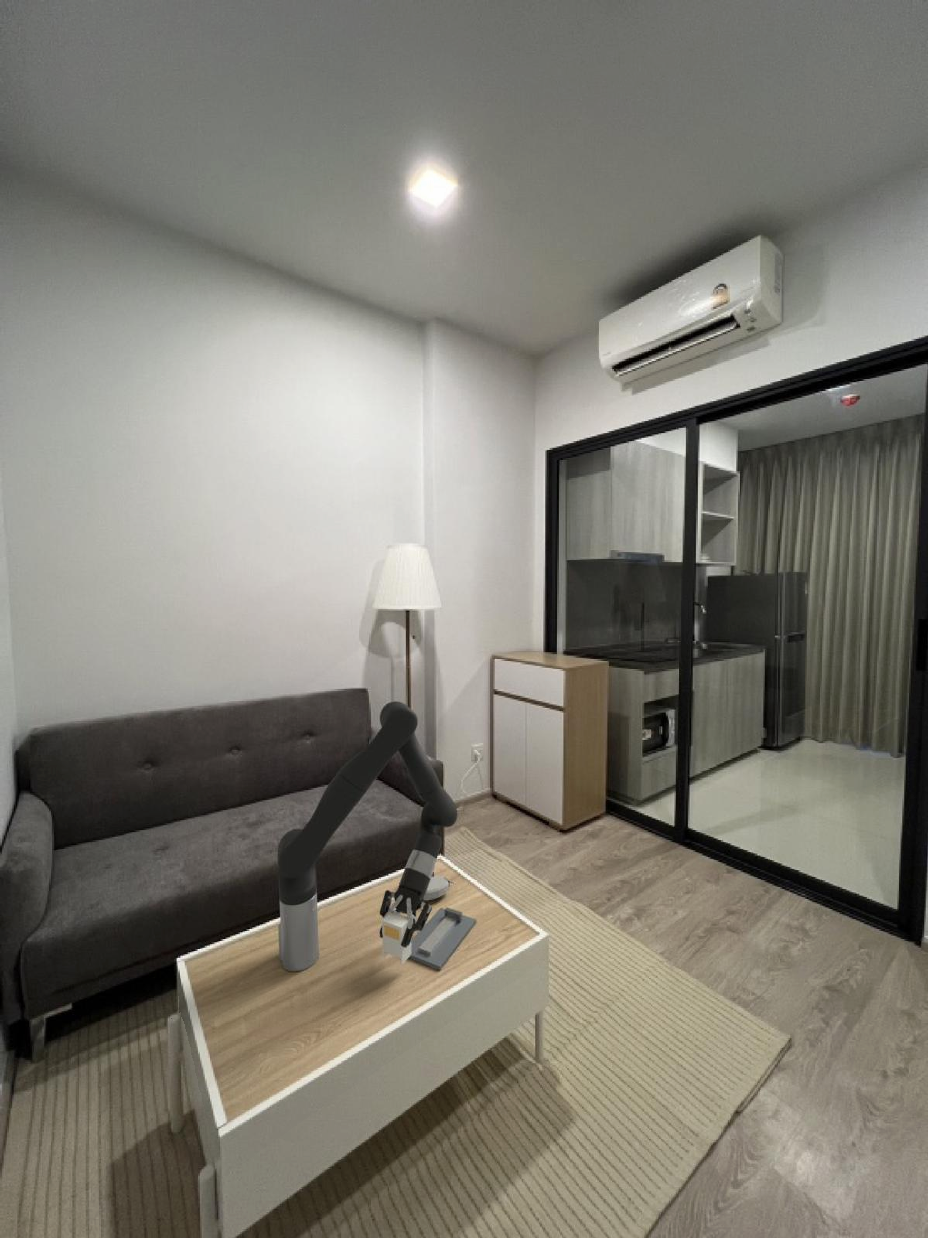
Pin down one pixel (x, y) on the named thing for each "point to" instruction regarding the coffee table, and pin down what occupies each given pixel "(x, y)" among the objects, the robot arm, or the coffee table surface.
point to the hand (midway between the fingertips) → (392, 942)
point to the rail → (441, 931)
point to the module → (395, 936)
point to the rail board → (446, 946)
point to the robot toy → (437, 887)
